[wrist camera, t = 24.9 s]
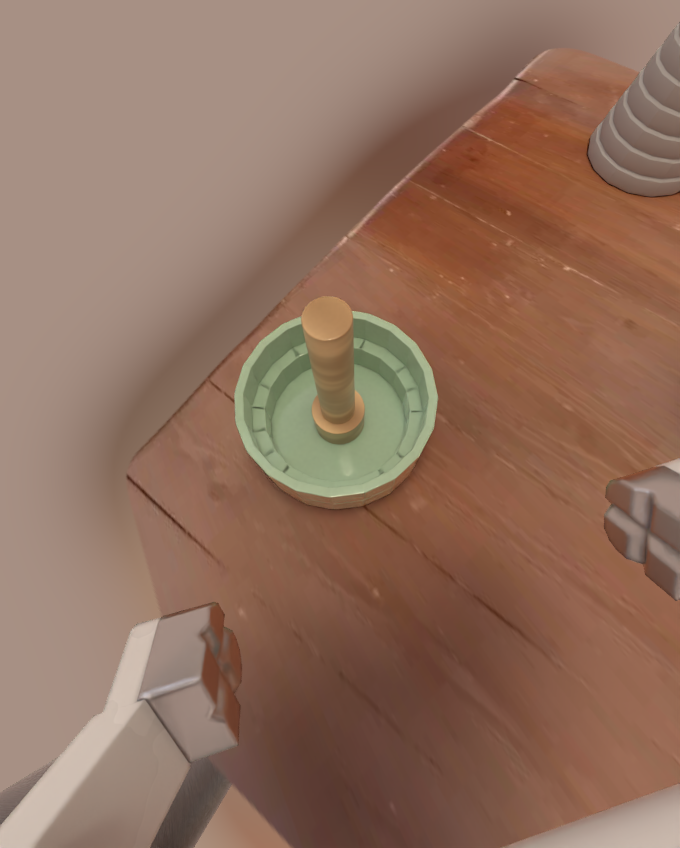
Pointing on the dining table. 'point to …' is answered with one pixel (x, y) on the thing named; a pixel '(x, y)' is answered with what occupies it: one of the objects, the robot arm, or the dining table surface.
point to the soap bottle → (644, 129)
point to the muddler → (333, 369)
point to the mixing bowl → (294, 425)
